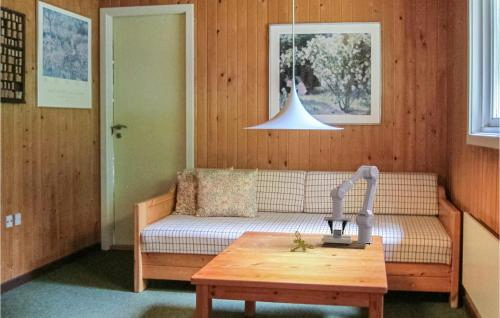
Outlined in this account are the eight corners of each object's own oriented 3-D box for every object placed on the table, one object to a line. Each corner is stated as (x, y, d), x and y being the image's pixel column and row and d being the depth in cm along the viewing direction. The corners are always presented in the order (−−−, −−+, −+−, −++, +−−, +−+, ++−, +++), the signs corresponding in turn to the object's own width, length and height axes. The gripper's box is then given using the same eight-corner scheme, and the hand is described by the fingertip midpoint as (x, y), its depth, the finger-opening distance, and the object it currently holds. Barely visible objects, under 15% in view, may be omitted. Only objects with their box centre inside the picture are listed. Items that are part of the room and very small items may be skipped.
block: (333, 238, 304) (334, 229, 304) (341, 238, 303) (341, 229, 303) (333, 239, 300) (333, 230, 300) (340, 239, 299) (340, 230, 299)
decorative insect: (302, 260, 288) (315, 246, 287) (301, 261, 285) (314, 248, 283) (284, 243, 290) (296, 229, 288) (283, 244, 286) (296, 230, 285)
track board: (324, 243, 310) (324, 240, 310) (365, 245, 304) (365, 243, 304) (321, 247, 298) (321, 244, 298) (364, 249, 293) (364, 247, 293)
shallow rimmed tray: (323, 240, 309) (323, 234, 309) (352, 242, 305) (352, 236, 305) (321, 244, 299) (321, 237, 299) (351, 245, 295) (351, 239, 295)
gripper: (323, 210, 300) (323, 234, 300) (350, 211, 296) (350, 236, 296) (325, 208, 306) (324, 232, 307) (351, 209, 303) (350, 233, 303)
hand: (337, 234), depth 302 cm, fingers open, 5 cm apart
